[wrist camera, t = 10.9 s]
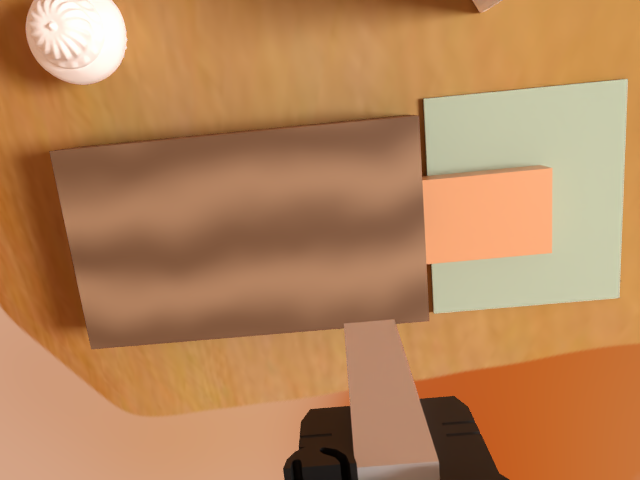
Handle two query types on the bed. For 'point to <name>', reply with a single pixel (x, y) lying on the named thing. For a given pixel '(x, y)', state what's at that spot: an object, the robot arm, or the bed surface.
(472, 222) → the orange rectangular block
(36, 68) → the bed surface
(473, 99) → the mat
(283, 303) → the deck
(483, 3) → the syrup box
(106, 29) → the white steamed bun
